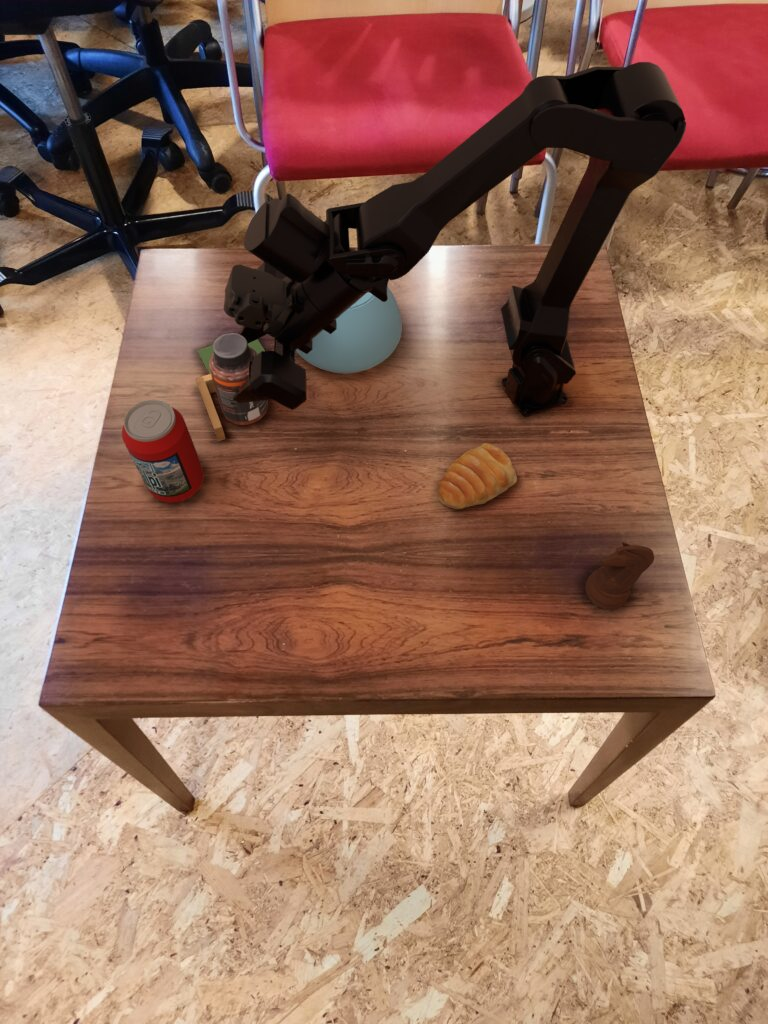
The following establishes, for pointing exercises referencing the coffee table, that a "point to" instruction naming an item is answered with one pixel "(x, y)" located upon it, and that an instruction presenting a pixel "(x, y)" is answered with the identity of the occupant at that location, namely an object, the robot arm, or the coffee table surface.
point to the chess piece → (618, 575)
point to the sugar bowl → (358, 337)
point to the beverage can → (162, 450)
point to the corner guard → (210, 403)
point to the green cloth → (208, 351)
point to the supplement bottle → (234, 378)
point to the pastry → (476, 477)
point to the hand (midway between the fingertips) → (237, 370)
